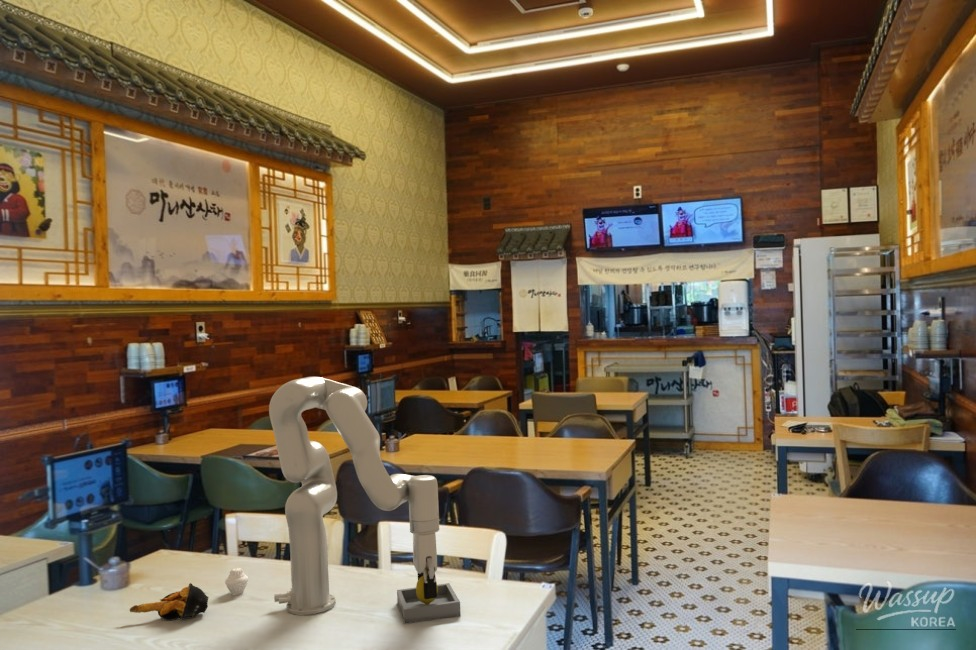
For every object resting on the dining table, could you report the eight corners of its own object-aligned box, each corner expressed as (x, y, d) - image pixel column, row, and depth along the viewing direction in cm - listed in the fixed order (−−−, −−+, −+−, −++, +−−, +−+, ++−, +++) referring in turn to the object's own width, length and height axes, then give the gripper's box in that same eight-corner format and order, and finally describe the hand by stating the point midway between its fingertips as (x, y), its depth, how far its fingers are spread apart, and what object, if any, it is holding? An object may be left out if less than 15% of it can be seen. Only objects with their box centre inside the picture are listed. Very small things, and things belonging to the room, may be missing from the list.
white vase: (252, 591, 207) (251, 567, 207) (232, 598, 202) (231, 573, 202) (241, 587, 211) (240, 562, 211) (221, 593, 206) (220, 568, 206)
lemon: (434, 609, 185) (433, 577, 185) (413, 608, 186) (412, 577, 187) (440, 601, 191) (439, 570, 191) (420, 601, 192) (419, 570, 192)
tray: (404, 623, 180) (404, 609, 180) (397, 603, 194) (396, 589, 194) (460, 615, 183) (460, 601, 183) (449, 596, 197) (449, 583, 197)
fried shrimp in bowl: (210, 603, 187) (135, 592, 181) (198, 636, 190) (124, 627, 184) (214, 578, 195) (142, 567, 189) (202, 611, 198) (131, 601, 192)
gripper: (405, 517, 196) (408, 582, 196) (415, 535, 179) (418, 605, 179) (433, 515, 198) (435, 578, 198) (445, 532, 181) (448, 601, 181)
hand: (427, 591), depth 188 cm, fingers open, 9 cm apart
